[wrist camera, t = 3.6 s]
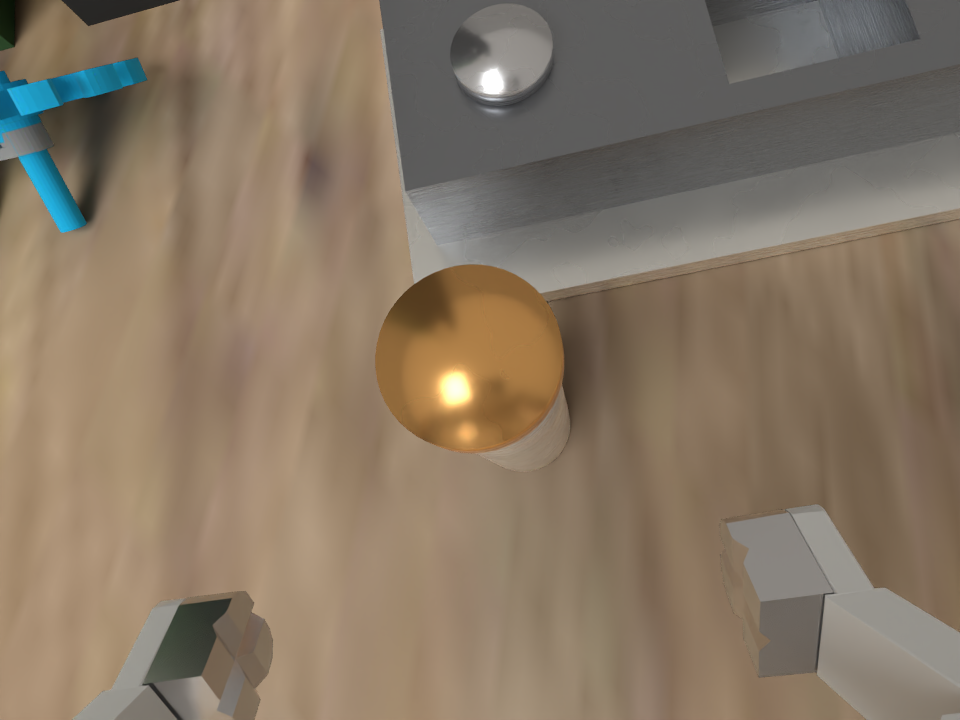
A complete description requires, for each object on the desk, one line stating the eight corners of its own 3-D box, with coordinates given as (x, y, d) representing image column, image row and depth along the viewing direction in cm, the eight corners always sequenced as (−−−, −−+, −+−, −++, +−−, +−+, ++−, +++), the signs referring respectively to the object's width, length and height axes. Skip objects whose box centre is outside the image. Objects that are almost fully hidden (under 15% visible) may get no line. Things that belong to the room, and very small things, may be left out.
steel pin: (597, 443, 21) (599, 386, 12) (502, 498, 21) (427, 485, 12) (542, 352, 22) (502, 230, 13) (452, 404, 22) (344, 323, 13)
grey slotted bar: (1089, -136, 23) (1241, -334, 17) (1241, 162, 20) (1481, 32, 14) (388, 47, 26) (334, -73, 21) (425, 326, 23) (375, 269, 18)
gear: (182, 29, 26) (-33, 70, 18) (239, 173, 29) (77, 265, 21) (-15, 80, 29) (-273, 135, 21) (54, 205, 32) (-149, 296, 24)
